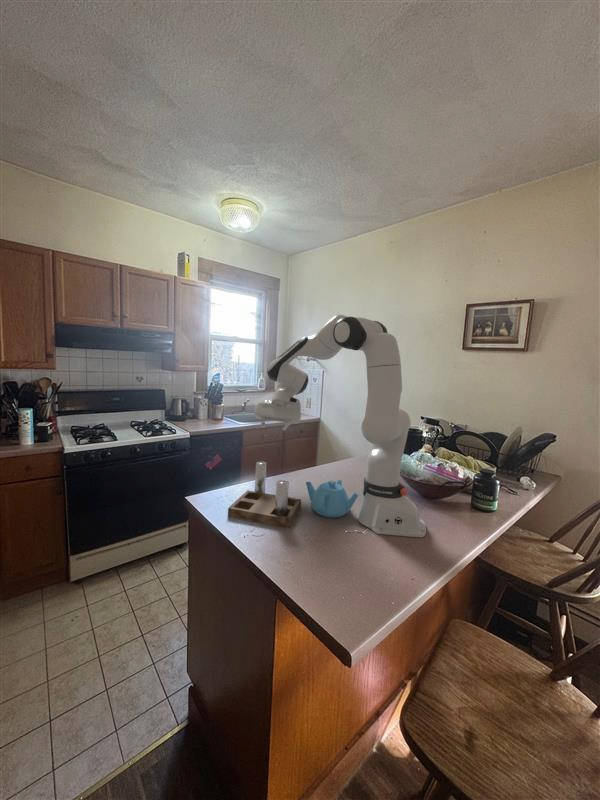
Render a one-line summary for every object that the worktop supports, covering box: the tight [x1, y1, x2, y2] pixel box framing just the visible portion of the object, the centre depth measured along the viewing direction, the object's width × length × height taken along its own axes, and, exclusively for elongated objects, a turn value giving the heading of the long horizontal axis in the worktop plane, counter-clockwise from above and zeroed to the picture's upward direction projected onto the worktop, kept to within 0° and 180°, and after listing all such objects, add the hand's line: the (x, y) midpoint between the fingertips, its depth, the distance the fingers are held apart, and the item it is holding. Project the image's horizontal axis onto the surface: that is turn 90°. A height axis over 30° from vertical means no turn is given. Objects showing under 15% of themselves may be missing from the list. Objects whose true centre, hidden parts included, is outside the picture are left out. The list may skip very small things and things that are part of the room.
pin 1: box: [254, 461, 267, 493], centre depth 124 cm, size 4×4×13 cm
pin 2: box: [275, 479, 290, 517], centre depth 105 cm, size 4×4×13 cm
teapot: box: [305, 479, 359, 519], centre depth 116 cm, size 15×15×11 cm
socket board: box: [227, 489, 302, 529], centre depth 111 cm, size 21×16×3 cm
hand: (273, 428), depth 134 cm, fingers open, 8 cm apart
